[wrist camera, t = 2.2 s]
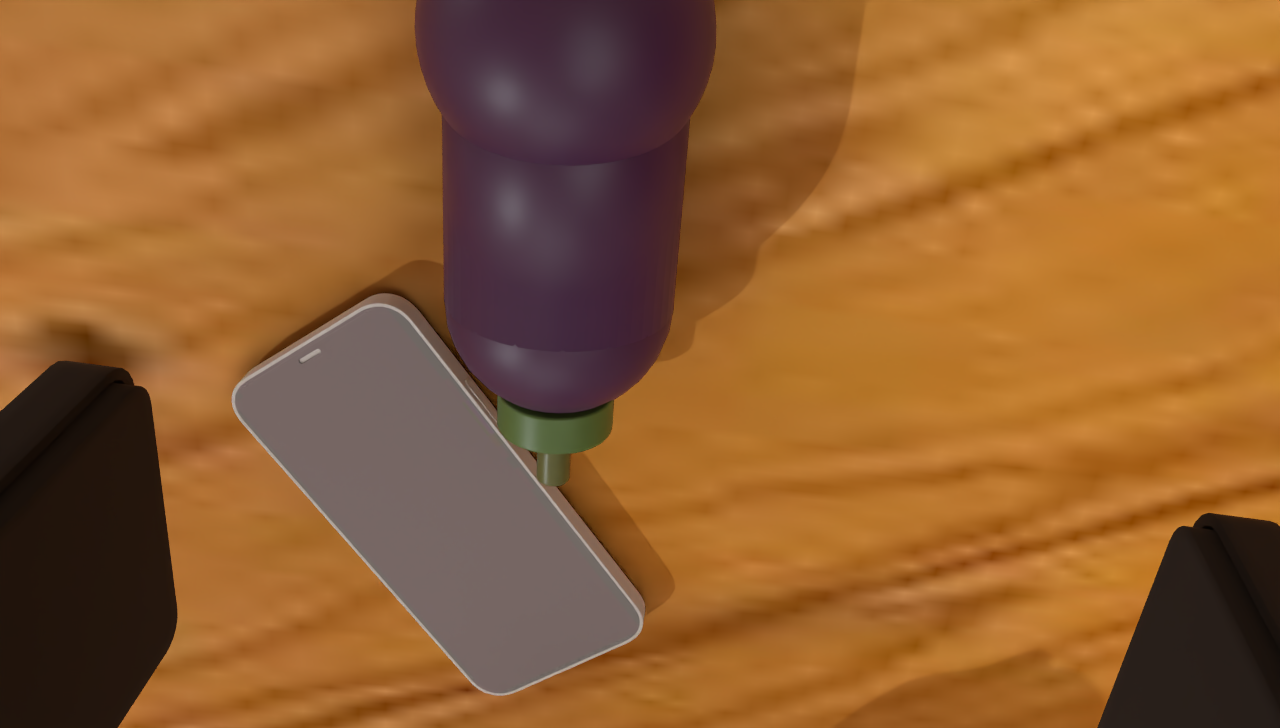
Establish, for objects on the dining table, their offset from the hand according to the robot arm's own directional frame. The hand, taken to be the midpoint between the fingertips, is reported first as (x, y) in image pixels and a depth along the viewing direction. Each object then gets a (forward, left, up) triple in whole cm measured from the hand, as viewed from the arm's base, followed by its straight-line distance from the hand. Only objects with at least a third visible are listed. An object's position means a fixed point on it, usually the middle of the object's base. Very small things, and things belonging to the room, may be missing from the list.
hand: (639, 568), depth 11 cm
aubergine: (+4, +4, -25) cm, 25 cm away
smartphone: (+8, +17, -25) cm, 31 cm away
